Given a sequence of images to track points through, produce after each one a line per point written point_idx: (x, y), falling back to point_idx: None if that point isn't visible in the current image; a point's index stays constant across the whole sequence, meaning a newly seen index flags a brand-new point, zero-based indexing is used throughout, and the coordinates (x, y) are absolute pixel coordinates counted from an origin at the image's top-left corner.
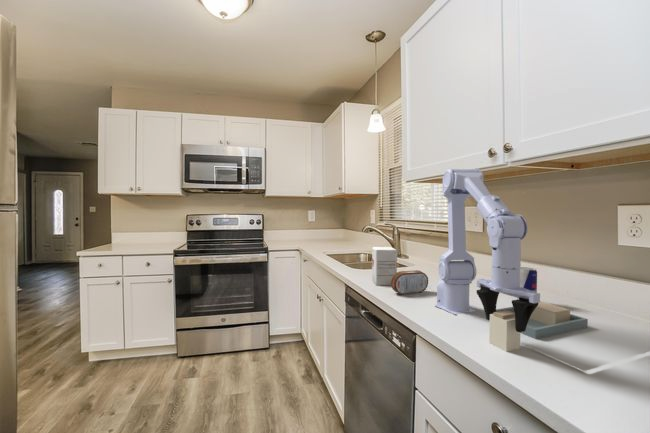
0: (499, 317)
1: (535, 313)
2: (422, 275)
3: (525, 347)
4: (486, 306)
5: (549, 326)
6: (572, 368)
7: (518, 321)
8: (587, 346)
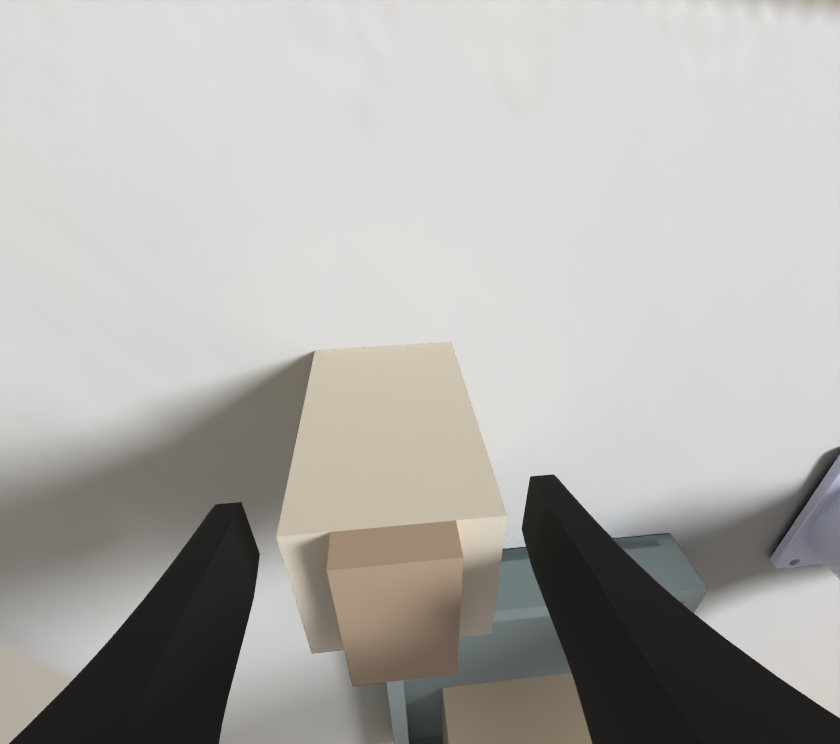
0: (375, 533)
1: (538, 716)
2: None
3: None
4: (604, 591)
5: (391, 683)
6: (75, 504)
7: (153, 598)
8: (279, 667)
